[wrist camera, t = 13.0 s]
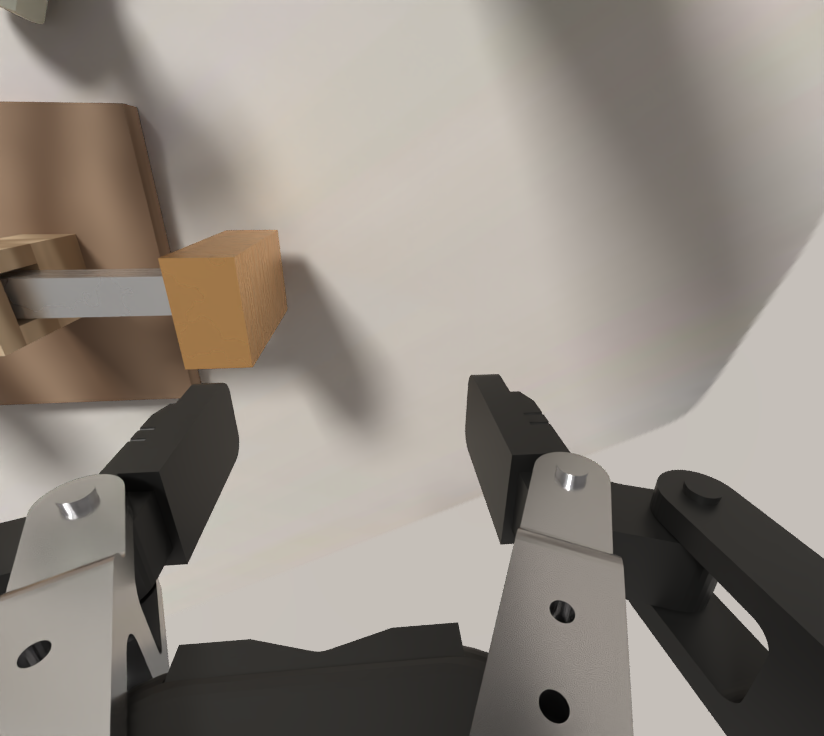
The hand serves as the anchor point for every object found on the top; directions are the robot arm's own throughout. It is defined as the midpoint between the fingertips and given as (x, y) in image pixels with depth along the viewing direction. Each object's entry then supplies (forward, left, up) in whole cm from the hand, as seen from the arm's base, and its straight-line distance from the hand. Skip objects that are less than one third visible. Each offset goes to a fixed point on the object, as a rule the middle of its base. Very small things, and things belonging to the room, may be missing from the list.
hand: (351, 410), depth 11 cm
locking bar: (+13, 0, -18) cm, 22 cm away
